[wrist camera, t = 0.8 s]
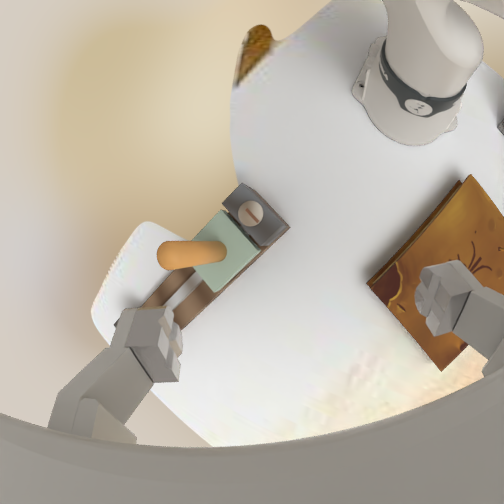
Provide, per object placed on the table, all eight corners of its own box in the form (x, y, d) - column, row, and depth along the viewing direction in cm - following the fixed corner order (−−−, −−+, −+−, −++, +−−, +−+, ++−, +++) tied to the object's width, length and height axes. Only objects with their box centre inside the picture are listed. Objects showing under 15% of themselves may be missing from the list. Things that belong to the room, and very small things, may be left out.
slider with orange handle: (225, 210, 43) (173, 197, 29) (261, 250, 42) (222, 254, 27) (187, 251, 45) (125, 256, 31) (219, 290, 44) (166, 312, 29)
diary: (432, 360, 39) (442, 374, 33) (366, 282, 42) (370, 289, 36) (516, 263, 33) (533, 265, 28) (457, 180, 36) (471, 173, 31)
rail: (255, 191, 45) (240, 182, 38) (290, 227, 44) (281, 224, 37) (136, 316, 53) (112, 325, 46) (161, 348, 51) (138, 361, 44)
